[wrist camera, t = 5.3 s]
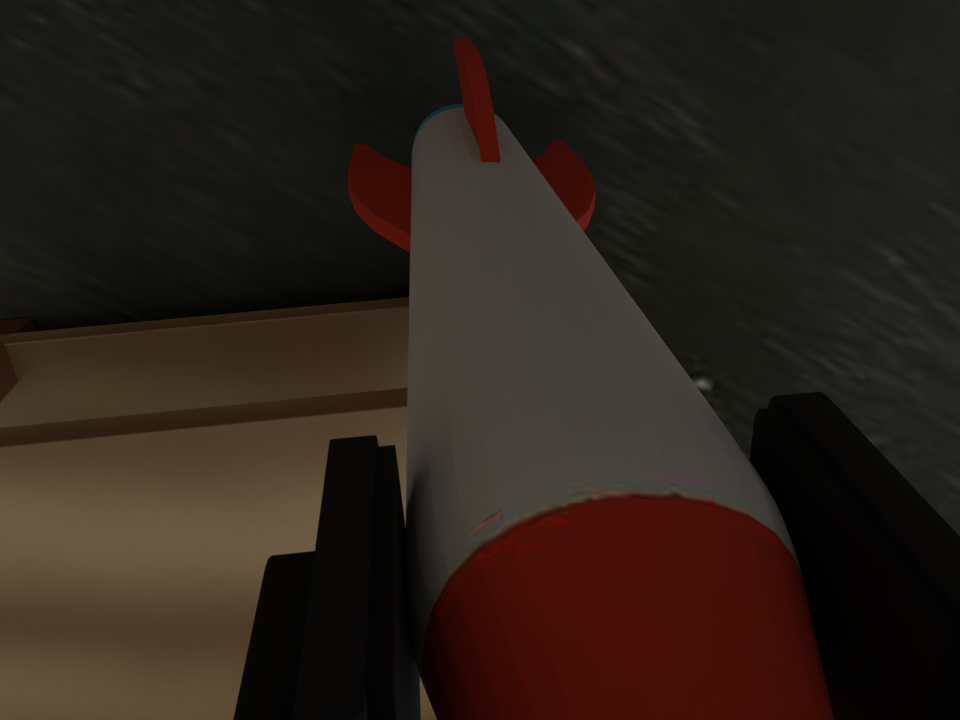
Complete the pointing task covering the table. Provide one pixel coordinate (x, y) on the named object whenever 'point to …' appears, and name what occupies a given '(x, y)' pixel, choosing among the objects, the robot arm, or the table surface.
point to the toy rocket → (567, 461)
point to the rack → (171, 494)
